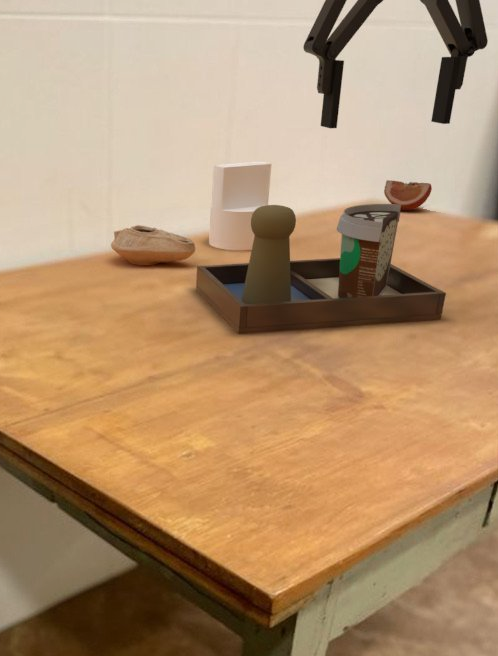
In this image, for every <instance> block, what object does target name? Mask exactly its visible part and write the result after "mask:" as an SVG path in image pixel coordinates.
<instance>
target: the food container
mask: <svg viewBox="0 0 498 656" xmlns="http://www.w3.org/2000/svg"><path fill="white" fill-rule="evenodd" d="M400 208H401V205H397V204H391V203H370V204H369V203H367V204H358V205H353V206H349V207H346V208H345V209H344V210H343V214H341V215H340V217H339V219H338V223H337V226H336V231H337V232H338V233H339V234H341V239H340V253H339V254H340V255H339V258H340V270H339V287H338V297H339V298H349V297H364V296H380V295H381V294H382V293H383V292H384V290H385V289H386V286H387V281H388V275H389V270H390V264H392V258H393V253H394V246H395V242H396V235H397V230H398V224H399V222H400V216H401V210H400Z"/></svg>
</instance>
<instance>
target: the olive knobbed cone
mask: <svg viewBox="0 0 498 656" xmlns="http://www.w3.org/2000/svg"><path fill="white" fill-rule="evenodd" d="M296 223H297V217H296V214H295V211H294V210H293V209H292V208H290V207H289V206H284V205H280V204H268V205H266V206H261V207H259V208H257V209H256V210H255V211H254V213H253V214H252V217H251V228H252V231H253V233H254V235H255V236H254V241H253V246H252V250H250V256H249V260H248V261H249V262H248V263H249V266H248V270H247V275H246V280H245V285H244V290H243V295H242V301H243V302H244V303H246V304H257V303H272V302H287V301H291V277H290V261H291V248H290V245H291V244H290V243H291V242H290V236H291V235H292V234H293V233H294V231H295V229H296Z"/></svg>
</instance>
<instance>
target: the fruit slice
mask: <svg viewBox="0 0 498 656" xmlns="http://www.w3.org/2000/svg"><path fill="white" fill-rule="evenodd" d="M432 188H433V187H432V184H431V183H428V182H416V181H414V182H413V181H410V182H408V183H407V182H403V181H399V180H389V179H388V180H386V182H385V185H384V190H383V195H384V197H385V198H386V199H387V201H388V202H389V204H397V205H401V208H400V211H412V210H415V209H417V208H419V207H421V206H422V205H423V204H424V203H426V201H427V200H428V198H429V197H430V195H431V193H432V190H433V189H432Z"/></svg>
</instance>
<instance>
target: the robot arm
mask: <svg viewBox="0 0 498 656" xmlns="http://www.w3.org/2000/svg"><path fill="white" fill-rule="evenodd" d="M383 1H384V0H356V2H354V4H353V6H352V7H351V8H350V10H349V11H348V12H347V14H346V15H345V16H344V17H343V19H342V20H341V21H340V23H339V24H338V25H337V26H336V27H335V28H334V26H335V25H336V22H338V19H339V17H340V14H341V13H342V11H343V9H344V6H345V5H346V2H347V0H324V2H323V4H322V6H321V9H320V10H319V12H318V15H317V17H316V19H315V21H314V22H313V25H312V27H311V29H310V31H309V33H308V34H307V37H306V39H305V41H304V43H303V46H302V47H303V51H304V52H305V53H307V54H310V55H312V56H315V57H316V59H318V63H319V64H318V73H317V83H316V89H317V93H318V94H322V95H323V98H322V106H321V107H322V108H321V116H320V127H323V128H327V129H337V127H338V120H339V110H340V100H341V93H342V83H343V76H344V75H343V73H344V65H345V60H341V59H337V58H338V56H339V55H340V54H341V53H342V51H343V50H344V49H345V47H346V46H347V45H348V43H349V42H350V41H351V40H352V39H353V37H354V36H355V34H356V33H357V32H358V31H359V30H360V28H362V26H363V24H364V23H365V22H366V21H367V19H368V18H369V17H370V15H371V14H372V13H373V12H374V10H375V9H376V8H377V7H378V6H379V5H380V4H382V2H383ZM419 1H420V2H421V3H422V4H423V5H424V6H425V8H426V10H427V12H428V14H429V16H430V18H431V20H432V22H433V25H434V26H435V28H436V30H437V32H438V34H439V35H440V38H441V39H442V41H443V43H444V45H445V47H446V49H447V51H448V53H449V54H450V56H442V57H441V60H440V66H439V72H438V77H437V84H436V85H437V86H436V89H435V90H436V91H435V96H434V103H433V109H432V114H431V119H430V120H431V121H430V122H432V123H437V124H442V125H447V124H449V125H450V124H451V119H452V112H453V106H454V101H455V96H456V91H457V90H461V88H462V87H463V84H464V79H465V74H466V69H467V68H466V67H467V62H468V58H470V57H472V56H473V55H475V53H476V52H477V51H478V50H484V49H485V48H486V47H487V45H488V43H489V42H488V41H489V39H488V35H487V31H486V26H485V20H484V15H483V11H482V6H481V0H455V5H456V9H457V14H458V17H457V15H456V12H455V11H454V9H453V7H452V5H451V3H450V1H449V0H419ZM458 18H459V19H458ZM333 29H334V30H333ZM332 31H333V32H332ZM331 32H332V33H331Z"/></svg>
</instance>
